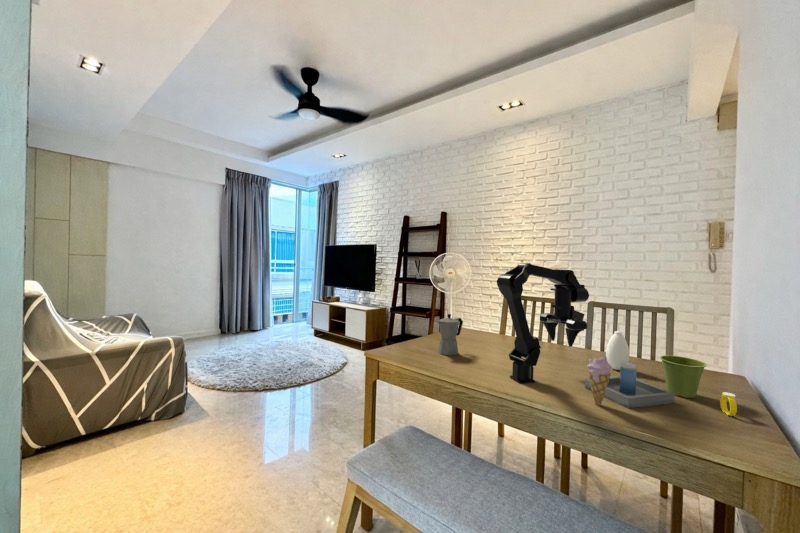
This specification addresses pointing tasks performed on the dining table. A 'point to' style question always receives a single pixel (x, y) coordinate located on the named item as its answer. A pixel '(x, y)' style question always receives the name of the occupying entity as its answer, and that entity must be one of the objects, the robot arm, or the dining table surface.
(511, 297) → the robot arm
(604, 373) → the ice cream cone
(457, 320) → the coffeepot
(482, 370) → the dining table surface
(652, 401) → the tray
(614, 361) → the white vase
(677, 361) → the plant pot
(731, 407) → the watch
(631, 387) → the cylinder
